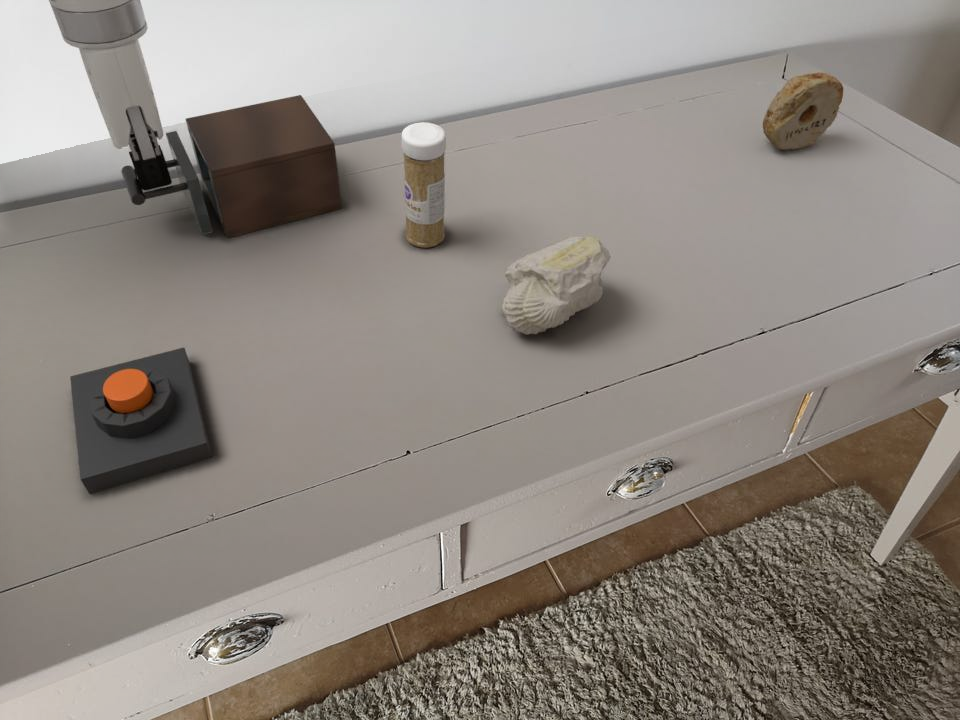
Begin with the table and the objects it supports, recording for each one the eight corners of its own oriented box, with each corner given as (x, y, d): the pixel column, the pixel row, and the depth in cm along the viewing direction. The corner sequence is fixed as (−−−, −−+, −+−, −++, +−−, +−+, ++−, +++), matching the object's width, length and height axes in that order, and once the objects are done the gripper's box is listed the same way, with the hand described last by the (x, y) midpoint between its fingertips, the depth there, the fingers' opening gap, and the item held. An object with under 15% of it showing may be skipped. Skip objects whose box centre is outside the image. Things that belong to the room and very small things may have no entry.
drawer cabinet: (227, 238, 88) (210, 171, 81) (202, 184, 94) (185, 118, 88) (342, 208, 92) (334, 142, 86) (310, 158, 99) (300, 94, 93)
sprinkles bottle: (397, 235, 89) (391, 130, 79) (427, 219, 91) (425, 115, 81) (423, 255, 87) (420, 149, 77) (453, 238, 89) (455, 133, 79)
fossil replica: (480, 332, 79) (572, 368, 77) (487, 276, 72) (588, 314, 71) (523, 256, 86) (608, 288, 84) (534, 199, 79) (626, 232, 78)
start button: (107, 388, 67) (100, 375, 66) (150, 377, 68) (144, 363, 67) (111, 418, 65) (104, 405, 64) (155, 406, 66) (150, 393, 65)
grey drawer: (148, 248, 84) (129, 194, 79) (130, 197, 91) (111, 144, 85) (310, 207, 91) (302, 154, 85) (282, 161, 97) (273, 110, 92)
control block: (78, 391, 72) (62, 362, 69) (189, 363, 75) (179, 333, 72) (89, 494, 64) (72, 466, 61) (212, 458, 67) (202, 429, 64)
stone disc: (811, 131, 108) (838, 62, 101) (829, 144, 106) (857, 75, 98) (749, 143, 105) (772, 73, 98) (765, 158, 103) (790, 87, 96)
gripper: (47, -8, 75) (108, 157, 89) (69, 58, 66) (134, 231, 80) (127, -20, 78) (175, 142, 91) (159, 41, 69) (207, 212, 82)
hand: (156, 183), depth 85 cm, fingers closed
